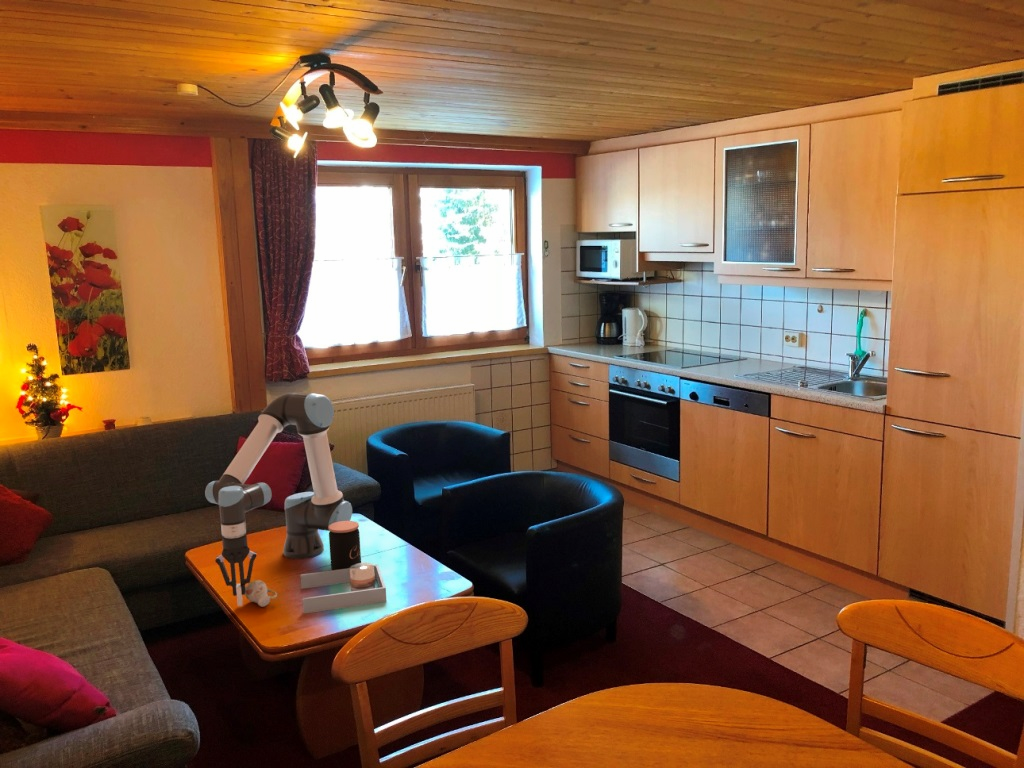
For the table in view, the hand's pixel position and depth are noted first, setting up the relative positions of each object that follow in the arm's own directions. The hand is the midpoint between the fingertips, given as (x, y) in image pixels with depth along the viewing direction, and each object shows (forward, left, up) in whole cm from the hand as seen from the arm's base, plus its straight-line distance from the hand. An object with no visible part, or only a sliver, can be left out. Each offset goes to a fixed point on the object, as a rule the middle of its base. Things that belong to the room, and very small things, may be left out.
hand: (240, 604), depth 265 cm
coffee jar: (-18, +35, -2) cm, 40 cm away
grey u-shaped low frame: (+1, +32, -1) cm, 33 cm away
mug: (0, +10, -1) cm, 10 cm away
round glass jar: (+1, +39, -1) cm, 40 cm away
